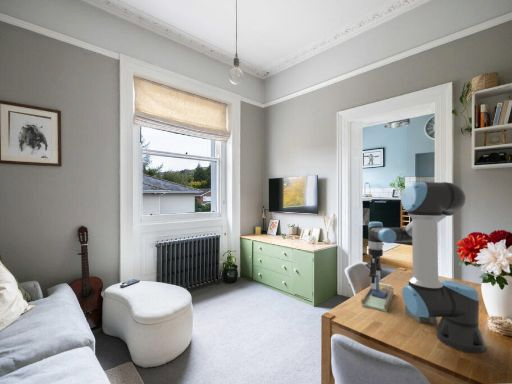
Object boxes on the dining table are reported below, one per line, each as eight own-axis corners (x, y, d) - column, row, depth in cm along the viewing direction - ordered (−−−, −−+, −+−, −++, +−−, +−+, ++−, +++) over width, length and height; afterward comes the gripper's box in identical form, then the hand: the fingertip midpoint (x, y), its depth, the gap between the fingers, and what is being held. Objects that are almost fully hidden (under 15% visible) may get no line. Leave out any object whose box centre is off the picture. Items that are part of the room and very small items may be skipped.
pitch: (386, 311, 127) (386, 299, 127) (361, 305, 133) (361, 294, 133) (393, 294, 149) (393, 283, 149) (371, 289, 156) (371, 279, 156)
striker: (385, 298, 139) (385, 273, 139) (371, 295, 143) (371, 271, 143) (386, 294, 144) (386, 270, 144) (373, 291, 148) (373, 268, 148)
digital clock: (440, 326, 113) (440, 302, 113) (419, 326, 113) (419, 302, 113) (417, 309, 129) (417, 289, 129) (399, 309, 129) (399, 288, 129)
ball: (387, 285, 146) (388, 289, 149) (380, 284, 149) (380, 287, 151) (386, 291, 144) (387, 295, 146) (379, 290, 146) (380, 293, 149)
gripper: (378, 253, 133) (378, 293, 133) (386, 245, 153) (386, 280, 153) (363, 251, 137) (363, 290, 137) (372, 244, 157) (372, 277, 157)
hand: (375, 285), depth 145 cm, fingers open, 13 cm apart
